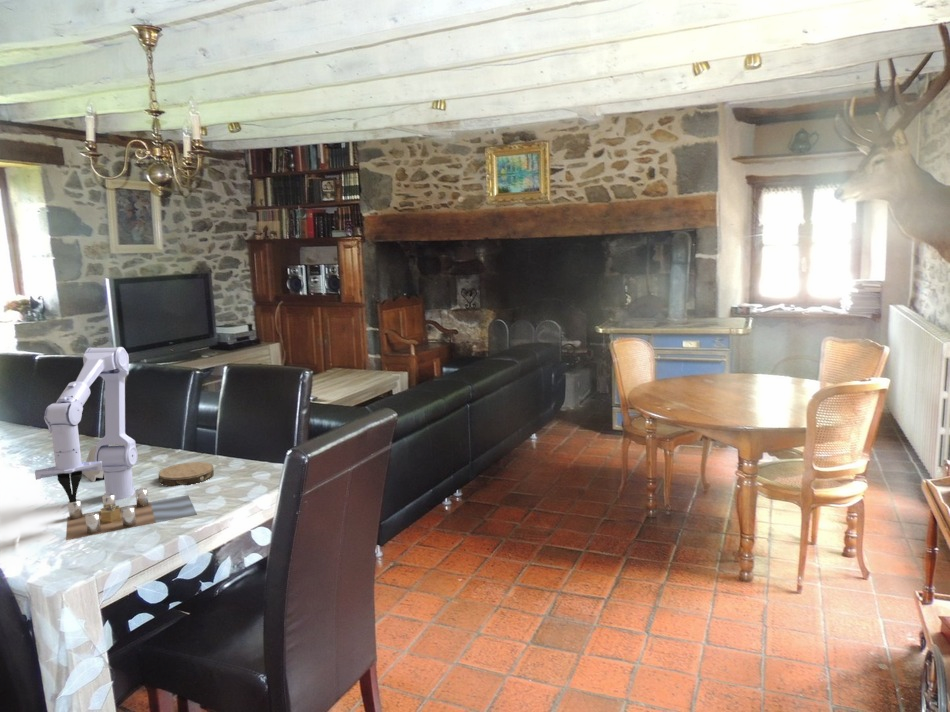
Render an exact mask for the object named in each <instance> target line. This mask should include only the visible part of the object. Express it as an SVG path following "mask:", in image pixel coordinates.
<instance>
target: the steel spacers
mask: <svg viewBox="0 0 950 712" xmlns="http://www.w3.org/2000/svg"><path fill="white" fill-rule="evenodd" d="M134 495H135V502H136V503H135V505H136V504H137V507H146V506H148V505H149V502H150V501H149V491H148V488H147V487H142V488H141V487H140V488H137V489H135V493H134ZM67 506H68V507H67V508H68V515H69V516H68V517H70V519H71V520H75V519H79V518H82V517H83V514H84V513H83V508H82V500H81V499H78V498H76V502H72V503H70V502H69V501H67ZM102 506H103V507H102V508H105V507H108V506H117V500H115V494H106V495H105V494H104V495H102ZM127 506H128V507H125V506H123V507H124V508H122V509H121V511H122V521H123V527H132V526H135V525H136V518H135V508H134V507H133V506H130V505H127ZM89 513H90V514H87V515H86V516H85V518H86V527H87V534H96V533H99V532H100V531H101V528H100V518H99V513H91V512H89ZM132 528H133V527H132ZM96 535H97V534H96Z"/></svg>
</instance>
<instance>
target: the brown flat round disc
mask: <svg viewBox="0 0 950 712" xmlns="http://www.w3.org/2000/svg"><path fill="white" fill-rule="evenodd" d="M214 470H215V469H214V465H213V464H212V463H208V462H201V461H198V462H197V461H196V462H185V463H179V464H174V465H172V466H168V467H167V466H166V468H163V469H161V470H160V471H159V473H158V482H160V483H161V484H163V485H162V486H164V485H167V486H166V487H177V486H184V485H187V486H192V485H191V484H193V485H197V484H196V483H198V484H200V482H201V483H205V482H206V480H207V481H208V479H209V480H211V479H212V478H213V477H214V474H215V472H214ZM210 478H211V479H210ZM160 483H159V484H160ZM161 484H160V485H161Z"/></svg>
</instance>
